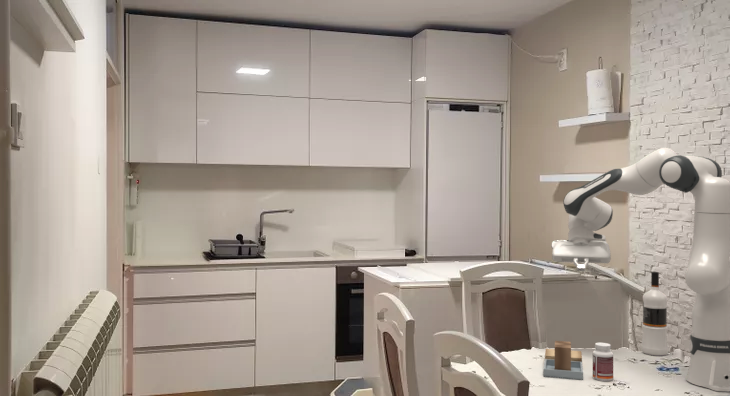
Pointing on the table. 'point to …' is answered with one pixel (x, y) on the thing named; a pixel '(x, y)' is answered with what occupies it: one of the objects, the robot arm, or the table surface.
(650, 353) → the vodka
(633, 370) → the table surface
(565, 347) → the walnut block
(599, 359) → the pill bottle
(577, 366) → the tray
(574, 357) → the oak board
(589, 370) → the table surface
